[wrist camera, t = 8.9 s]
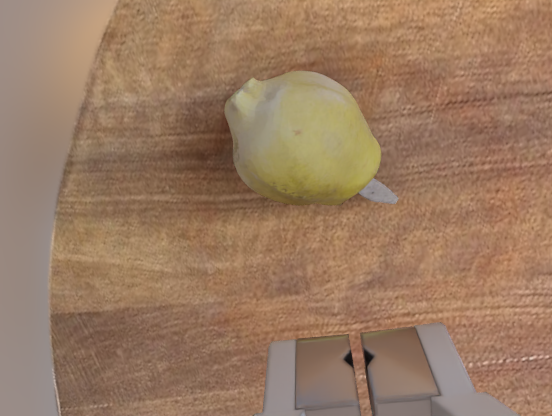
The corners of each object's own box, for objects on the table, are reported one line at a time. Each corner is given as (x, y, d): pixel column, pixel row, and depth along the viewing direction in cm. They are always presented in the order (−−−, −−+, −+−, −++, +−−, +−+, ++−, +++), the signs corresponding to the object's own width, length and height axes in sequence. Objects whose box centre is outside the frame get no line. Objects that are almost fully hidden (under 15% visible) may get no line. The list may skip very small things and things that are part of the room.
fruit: (357, 233, 24) (193, 158, 21) (407, 137, 23) (246, 45, 20) (410, 272, 19) (199, 176, 16) (478, 147, 18) (270, 23, 15)
